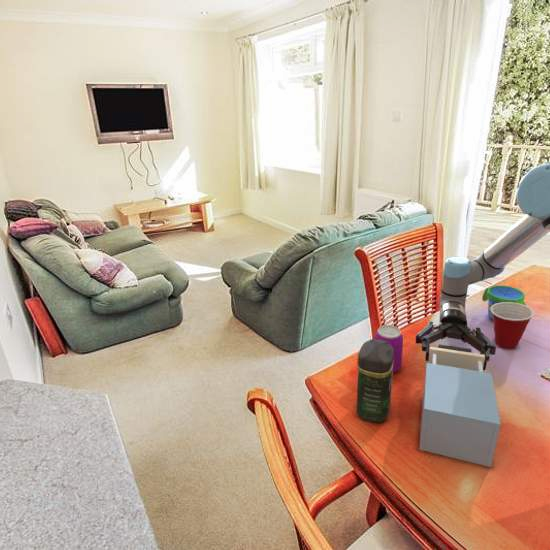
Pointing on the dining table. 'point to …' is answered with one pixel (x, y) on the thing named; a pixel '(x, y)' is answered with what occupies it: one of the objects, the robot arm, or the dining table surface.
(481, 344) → the robot arm
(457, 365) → the drawer
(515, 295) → the snack cup
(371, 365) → the coffee jar
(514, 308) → the plastic cup
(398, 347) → the beverage can
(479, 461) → the cabinet
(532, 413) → the dining table surface
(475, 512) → the dining table surface
